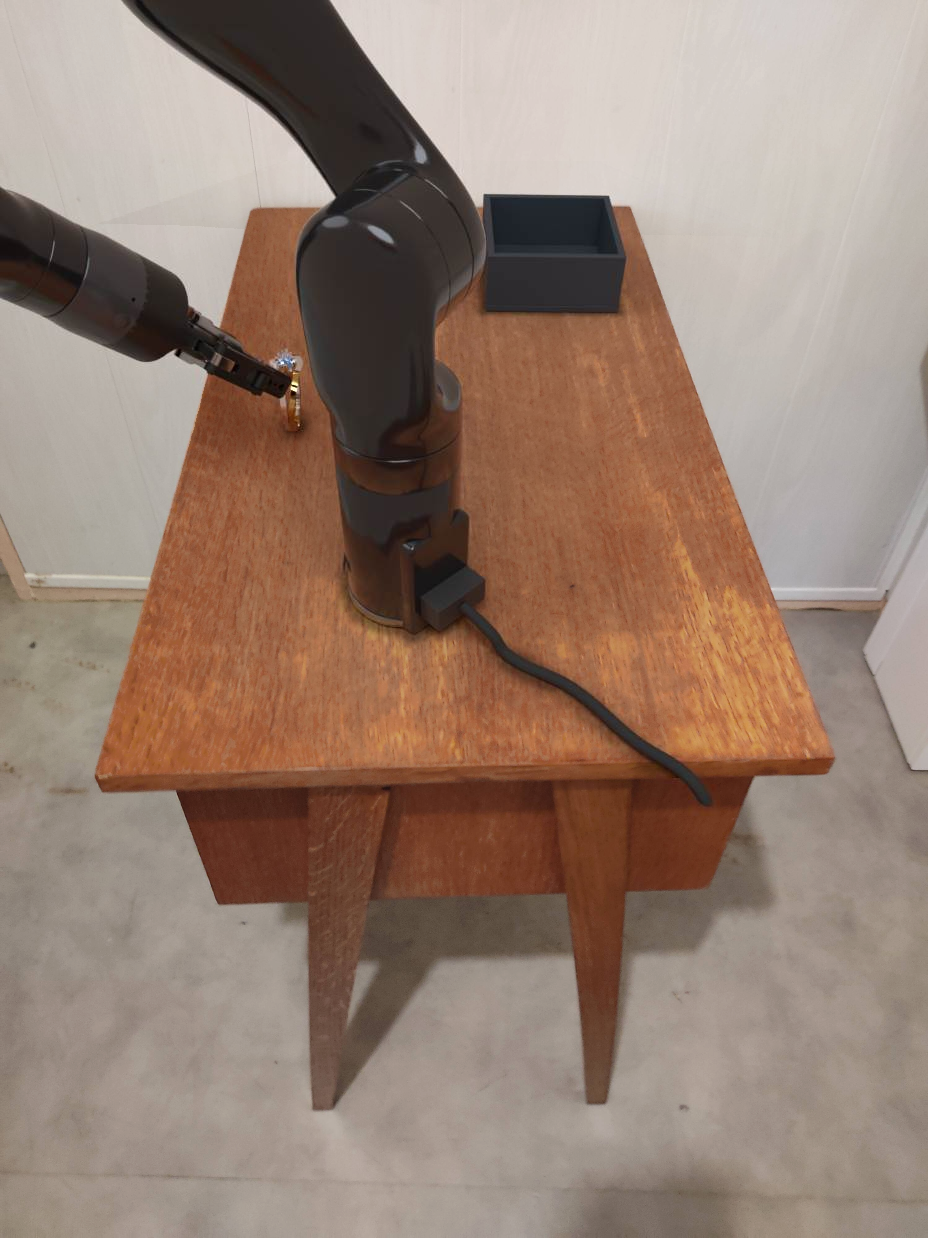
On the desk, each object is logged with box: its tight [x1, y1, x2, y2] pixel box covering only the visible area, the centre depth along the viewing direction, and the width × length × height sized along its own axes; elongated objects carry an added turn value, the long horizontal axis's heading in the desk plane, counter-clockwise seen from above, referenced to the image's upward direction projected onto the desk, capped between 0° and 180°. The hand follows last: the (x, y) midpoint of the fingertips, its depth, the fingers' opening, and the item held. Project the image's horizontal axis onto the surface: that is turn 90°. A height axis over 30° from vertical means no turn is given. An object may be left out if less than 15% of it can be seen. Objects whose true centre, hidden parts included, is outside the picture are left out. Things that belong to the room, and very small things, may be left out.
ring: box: [268, 347, 304, 432], centre depth 85 cm, size 7×3×8 cm, turn 179°
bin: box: [481, 193, 627, 314], centre depth 106 cm, size 16×16×7 cm
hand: (257, 367), depth 81 cm, fingers open, 8 cm apart
